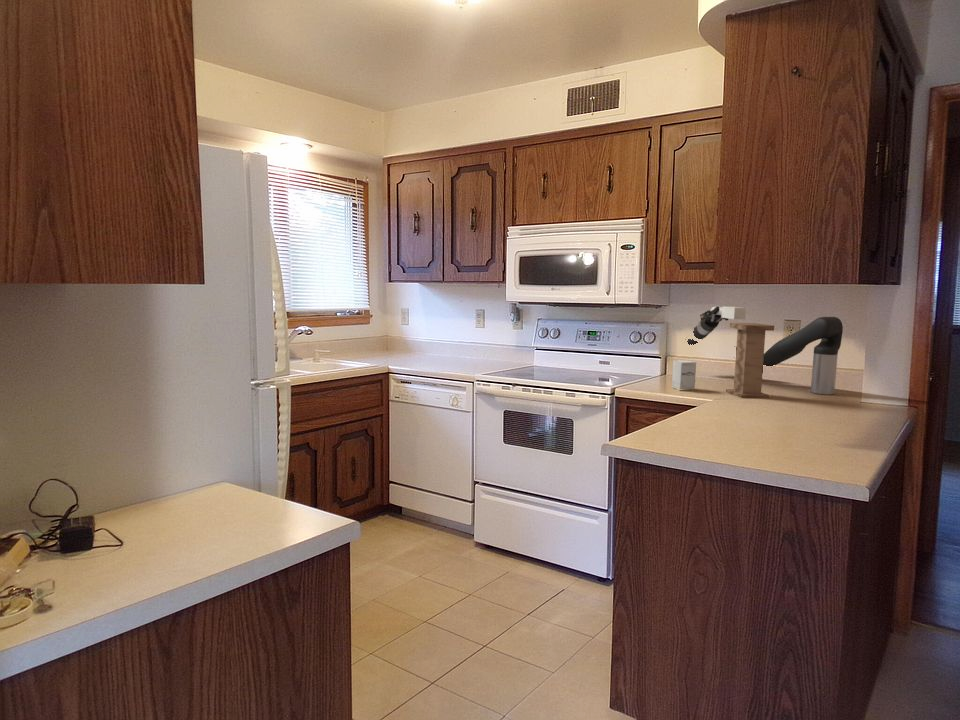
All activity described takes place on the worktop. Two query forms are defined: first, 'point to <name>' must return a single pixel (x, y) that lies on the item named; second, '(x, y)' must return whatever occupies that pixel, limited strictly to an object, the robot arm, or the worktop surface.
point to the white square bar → (731, 312)
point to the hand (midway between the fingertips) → (722, 308)
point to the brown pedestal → (749, 360)
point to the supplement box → (684, 374)
